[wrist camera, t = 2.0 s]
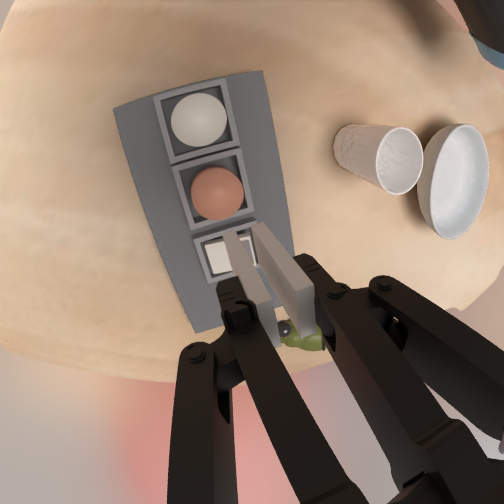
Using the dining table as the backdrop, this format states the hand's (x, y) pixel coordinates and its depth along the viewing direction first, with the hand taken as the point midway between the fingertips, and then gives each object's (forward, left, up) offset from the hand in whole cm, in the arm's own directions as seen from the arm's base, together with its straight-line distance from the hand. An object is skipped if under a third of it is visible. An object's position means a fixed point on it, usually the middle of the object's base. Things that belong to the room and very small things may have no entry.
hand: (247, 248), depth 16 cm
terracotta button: (0, 0, -14) cm, 14 cm away
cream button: (0, -8, -14) cm, 16 cm away
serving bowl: (-40, +7, -19) cm, 45 cm away
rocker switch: (0, +8, -14) cm, 16 cm away
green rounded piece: (-9, +29, -19) cm, 35 cm away
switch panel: (0, +4, -18) cm, 19 cm away
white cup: (-20, 0, -19) cm, 27 cm away
